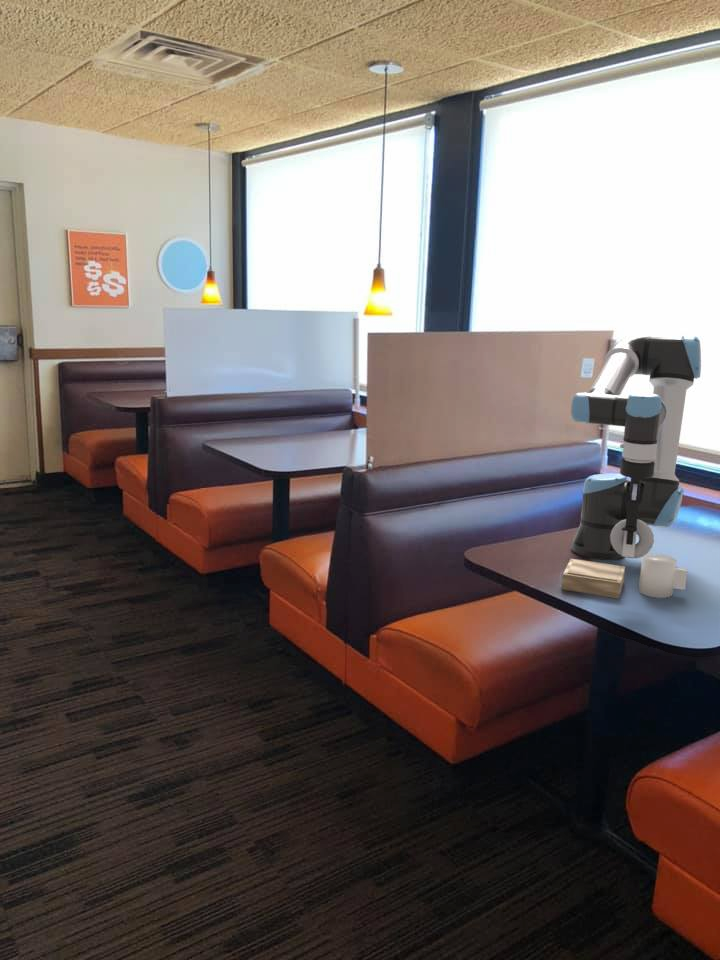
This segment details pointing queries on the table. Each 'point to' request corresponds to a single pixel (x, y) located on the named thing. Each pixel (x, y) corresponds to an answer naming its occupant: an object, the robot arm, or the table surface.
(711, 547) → the table surface
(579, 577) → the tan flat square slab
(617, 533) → the donut
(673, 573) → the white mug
